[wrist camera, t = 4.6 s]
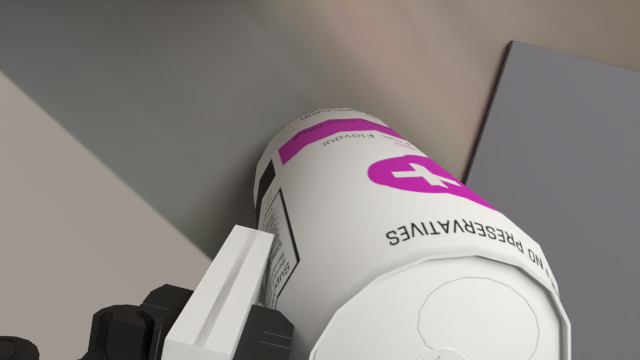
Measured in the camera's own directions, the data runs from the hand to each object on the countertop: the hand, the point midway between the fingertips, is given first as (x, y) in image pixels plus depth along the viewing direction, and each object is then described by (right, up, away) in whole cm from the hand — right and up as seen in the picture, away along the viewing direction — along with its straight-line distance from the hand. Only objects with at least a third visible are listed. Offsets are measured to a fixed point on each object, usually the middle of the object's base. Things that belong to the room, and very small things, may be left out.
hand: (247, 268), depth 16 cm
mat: (+18, -1, +11) cm, 21 cm away
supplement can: (+3, +3, +10) cm, 11 cm away
